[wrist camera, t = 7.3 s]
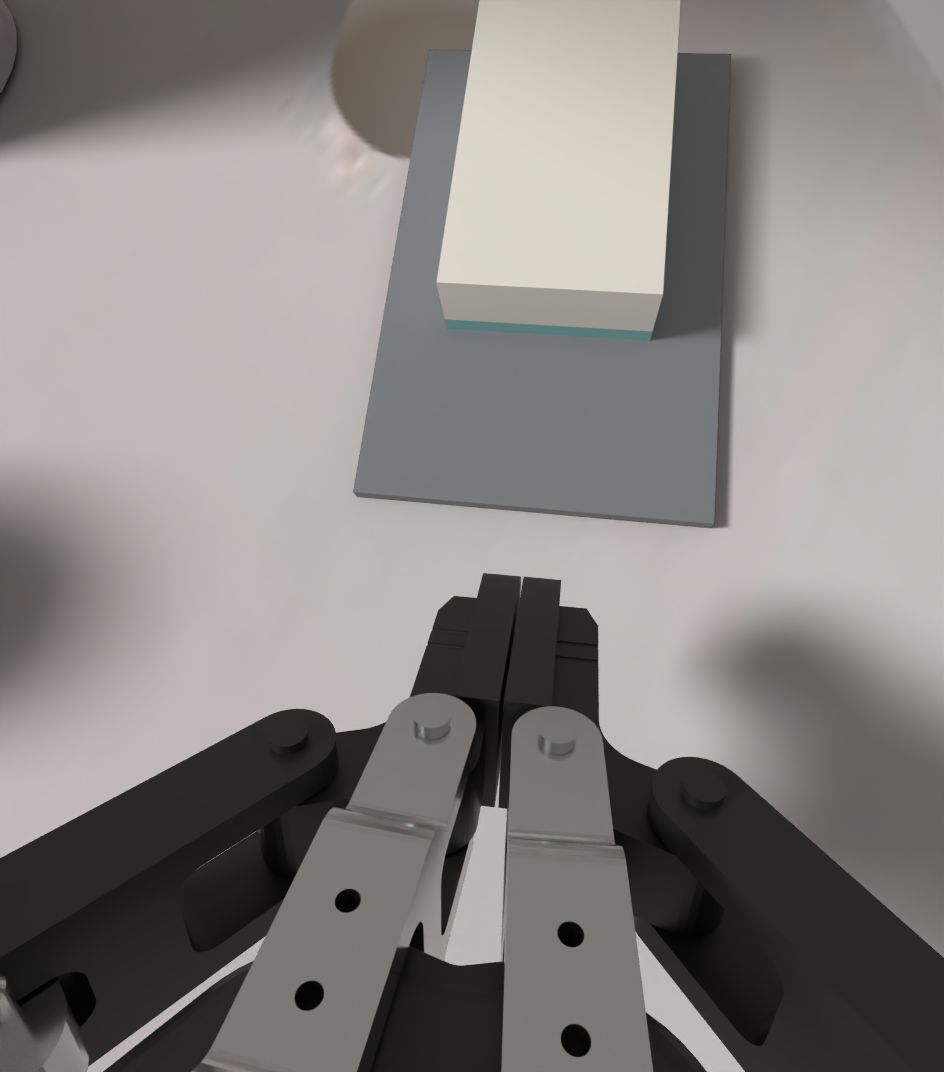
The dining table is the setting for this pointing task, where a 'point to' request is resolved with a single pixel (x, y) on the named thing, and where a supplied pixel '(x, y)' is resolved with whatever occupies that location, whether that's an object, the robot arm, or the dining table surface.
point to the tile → (563, 169)
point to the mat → (555, 352)
